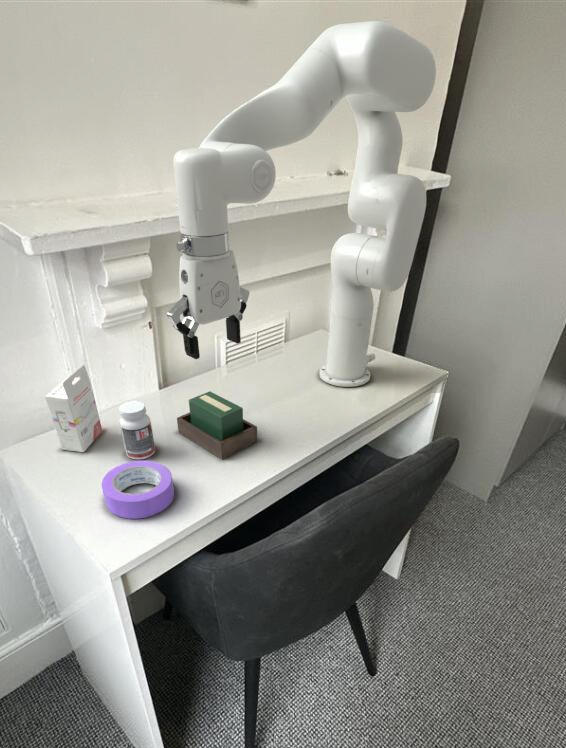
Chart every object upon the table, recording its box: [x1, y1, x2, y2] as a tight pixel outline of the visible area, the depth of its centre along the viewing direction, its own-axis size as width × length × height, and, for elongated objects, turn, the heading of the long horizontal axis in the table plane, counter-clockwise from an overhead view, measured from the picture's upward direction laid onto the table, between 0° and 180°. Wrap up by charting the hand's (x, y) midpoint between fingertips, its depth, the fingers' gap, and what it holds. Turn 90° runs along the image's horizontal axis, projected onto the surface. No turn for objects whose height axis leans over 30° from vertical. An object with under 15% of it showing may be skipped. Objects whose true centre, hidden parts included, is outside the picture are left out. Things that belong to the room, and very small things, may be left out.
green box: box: [188, 390, 244, 442], centre depth 99 cm, size 10×6×7 cm, turn 44°
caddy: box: [176, 411, 258, 460], centre depth 100 cm, size 9×14×4 cm
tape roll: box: [101, 460, 175, 520], centre depth 85 cm, size 12×12×4 cm
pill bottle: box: [118, 400, 156, 461], centre depth 94 cm, size 6×6×10 cm
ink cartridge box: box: [44, 364, 103, 453], centre depth 95 cm, size 9×5×15 cm, turn 168°
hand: (213, 348), depth 90 cm, fingers open, 9 cm apart
